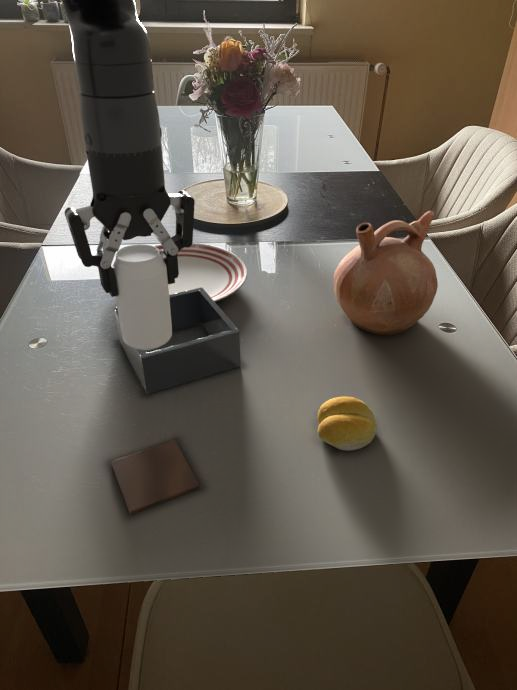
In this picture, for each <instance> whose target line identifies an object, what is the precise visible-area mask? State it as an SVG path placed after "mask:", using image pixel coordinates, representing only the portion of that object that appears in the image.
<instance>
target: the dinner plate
mask: <svg viewBox="0 0 517 690" xmlns="http://www.w3.org/2000/svg"><path fill="white" fill-rule="evenodd" d="M153 246H154V247H156V248H157V249H158V250H159V254H160V256H161V250H163V246H162V245H161V243H159V244H154V245H153ZM177 257H178V270H179V275H178V278H175V283H173V284H168V289H169V295H171V294H175V293H179V292H184V291H188V290H192V289H197V288H201V287H202V288H203V289H204V290H205V291H206V292H207V294H208V295H209V296H210V297H211V298H212V299H213V301H214V302H215V303H216V302H218V301H221V300H223V299H225V298H227V297H229V296H231V295H233V294H234V293H236V292H237V291H238V290H239V289H240V288H242V286H243V285H244V284H245V282H246V280H247V277H248V269H247V266H246V265H245V263H244V261H243V260H242V258H240V257H239V256H238V255H236V254H235V253H233V252H232V251H229V250H227V249H225V248H222V247H220V246H216V245H211V244H207V243H199V242H193V243H192V245H191V246H190V247H188V248H186V247H184V248H182V249H181V250H180V251H179V252H178V255H177Z"/></svg>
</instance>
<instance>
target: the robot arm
mask: <svg viewBox="0 0 517 690" xmlns="http://www.w3.org/2000/svg"><path fill="white" fill-rule="evenodd" d="M61 2H62V6H63V9H64V12H65V13H64V14H65V16H66V20H67V22H68V27H69V31H70V36H71V43H72V54H73V60H74V67H75V68H74V69H75V73H76V81H77V86H78V87H77V88H78V92H79V103H80V104H79V105H80V109H79V111H80V121H81V128H82V135H83V141H84V146H85V153H86V158H87V165H88V170H89V178H90V183H91V190H92V199H91V201H90V204H89V205H88V206H84V207H80V208H76V209H75V207H72V206H71V207H67V208H66V209H65V210H64V216H65V219H66V223H67V226H68V228H69V231H70V235H71V238H72V241H73V244H74V247H75V250H76V253H77V256H78V258H79V259H80V260H81V263H82V265H83V266H84V267H86V268H90V267H97V269H98V274H99V281H100V285H101V287H102V289H103V290H104V292H105V293H106V294H109V295H110V297H111V298H113V297H116V296H118V291H117V285H116V278H115V271H114V267H113V262H114V258H115V257H116V252H117V251H118V250H120V247H121V244H122V242H123V241H130V240H132V239H134V238H137V237H143V238H145V237H151V236H152V234H153V235H154V237H155V238H156V239H157V240H158V242H159V244H161V245H162V246H163V250H161V257H162V259H163V260H164V261H165V263H166V266H167V277H168V284H173V283H175V278H178V275H179V270H178V257H177V255H178V252H179V251H180V250H181V249H182V248H184V247H186V248H188V247H190V246H191V245H192V243H194V242H193V241H194V222H195V220H194V219H195V206H196V205H195V204H196V203H195V202H196V201H195V199H194V197H193V196H191V195H190V194H189V193H188V192H187V191H185V190H184V189H183V190H182V189H181V190H179V191H178V192H177V193H168V191H167V190H166V180H165V171H164V170H165V169H164V158H163V145H162V144H163V143H162V137H163V132H162V127H161V123H160V114H159V109H158V103H157V100H156V99H157V98H156V93H155V84H154V83H155V82H154V73H153V60H152V51H151V50H152V49H151V44H150V38H149V36H148V35H149V34H148V32H147V30H146V28H145V27H144V25H143V24H142V22H140V20H139V18H138V14H137V9H136V2H135V0H61ZM170 206H171V209H172V210H173V212H174V213H175V235H173V236H171V235H170V233H169V232H168V230H167V228H165V226H164V225H163V223H162V221H163V219H164V217H165V215H166V213H167V212H168V210H169V208H170ZM93 218H95V219H96V220H97V221H98V222H99V223H101V224H102V229H101V231H100V233H99V234H100V235H99V242H98V245H97V247H96V250H91V246H90V244H89V240H88V237H87V233H86V231H87V230H89V229H90V226H91V220H92V219H93Z"/></svg>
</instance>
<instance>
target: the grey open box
mask: <svg viewBox="0 0 517 690" xmlns="http://www.w3.org/2000/svg"><path fill="white" fill-rule="evenodd" d="M169 300H170V312H171V323H172V332H174V331H179V330H182V329H186V328H190V327H194V326H198V325H202V327H203V328H204V329H205V330H206V332H207V333H208V334H209V335H208V336H205V337H201V338H196V339H193V340H190V341H186V342H183V343H179V344H175V345H171V346H168V347H164V348H161V349H155V350H153V351H150V352H147V351H146V350H140V349H136V348H133V347H130V346H128V345H127V344H126V343H125V342H124V341H123V338H122V333H121V327H120V320H119V314H118V307H117V306H116V307H114V308H113V312H114V316H115V323H116V328H117V333H118V335H117V336H118V340H119V343H120V345H121V347H122V349H123V351H124V353H125V355H126V357H127V359H128V361H129V362H130V364H131V366H132V369H133V371H134V372H135V375H136V376H137V378H138V380H139V382H140V384H141V386H142V388H143V390H144V392H145V394H146V395H150V394H151V395H152V394H155V393H156V392H157V393H158V392H160V391H163V390H166V389H170V388H173V387H177V386H181V385H184V384H187V383H190V382H194V381H196V380H200V379H203V378H207V377H210V376H214V375H216V374H220V373H223V372H227V371H230V370H233V369H237V368H240V367H241V331H240V330H239V328H238V327H237V326H236V324H234V322H233V321H232V320H231V319H230V318H229V317H228V315H227V314H226V313H225V312H224V311H223V310H222V309H221V307H220V306H219V305H218V304H217V303H216V302H214V301H213V299H212V298H211V297H210V296H209V295H208V294H207V292H206V291H205V290H204V289H203V288H202V287H201V288H197V289H192V290H188V291H184V292H179V293H175V294H171V295H169Z"/></svg>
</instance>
